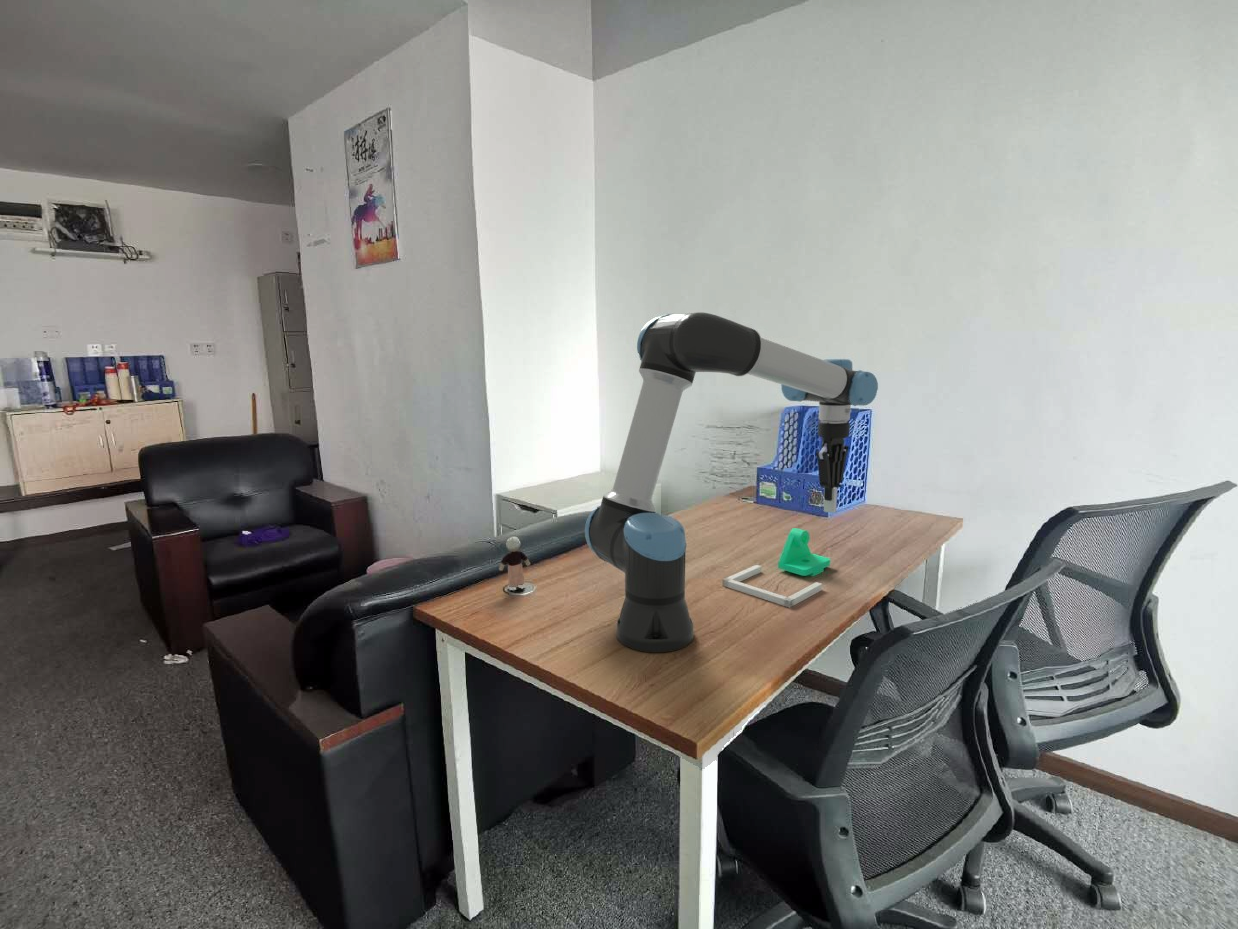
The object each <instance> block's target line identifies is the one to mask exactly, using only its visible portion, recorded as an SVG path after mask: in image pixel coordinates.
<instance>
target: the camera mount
mask: <svg viewBox="0 0 1238 929" xmlns="http://www.w3.org/2000/svg"><path fill="white" fill-rule="evenodd" d="M809 541H810V533H809V531H808V530H804V529H801V528H797V527H793V528H791V530H790V531H789V533H788V536H787V538H786V540H785V544H784V546H783V548H782V552H781V554H780V556H779V560H778V562H777V564H778V566H777V568H778V569H779V570H784V571H786V572H789V573H793V574H796V575H799V576H802V577H803V576H805V577H806V576H811V577H815V576H817V575H820V574H821V572H822V573H824V572H825V571H824V569H826V568H828V567H830V565H831V558H830V557H826V556H823V555H818V554H817V553H816V554H814V553H812V552H811V550H810V547H809Z"/></svg>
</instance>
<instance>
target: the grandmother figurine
mask: <svg viewBox="0 0 1238 929" xmlns="http://www.w3.org/2000/svg"><path fill="white" fill-rule="evenodd" d="M505 545H506V546H505V547H506V549H507V550H508V551H509V553H506V554H505V555H504V556H503V558H502V559H501V561H500V565H499V567H498V570H499V571H503V570H504V568H505V566H507V579H508V586H509V587H516V588H517V586H518V585H523V584H525V575H524V568H523V563H522V561H523V562H524V564H525V566H527V567H530V565H531V562H530V560H529V559H528V556H527V555H526V554H525V553H524V552H523V551H520V550H519V549H520V547H521V541H520V538H518V537H517V536H511V537H509V538H507V540H506V542H505Z"/></svg>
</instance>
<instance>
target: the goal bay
mask: <svg viewBox="0 0 1238 929" xmlns="http://www.w3.org/2000/svg"><path fill="white" fill-rule="evenodd" d="M761 572H762V566H761V565H759V564H755V565H752V566H750V567H748V568H746V569H744V570H740V571H739V572H737V573H735V574H732V575H730V576H727V577H725V578H723V579H721V580H722V587H723V586H724V587H725V588H729V589H732V590H734V591H738V592H741V593H744V594H747V595H750V596H753V597H756V598H759V599H762V600H765V601H769V602H772V603H774V604H777V605H780V606H783V607H786V608H789V609H790V608H792V607H794V606H795V605H797V604H799V603H801V602H802V601H805V600H806V599H808V598H810V597H811V596H813V595H815V594H817V593H819V592H820V591H822V590H823V583H821V582H817V581H815V582H813V583H812V584H810V585H808V586H806V587H804V588H802V589H800V590H799V591H797V592H795V593H793V594H791V595H789V596H785V595H781V594H779V593H775V592H772V591H769V590H766V589H764V588H760V587H756V586H754V585H750V584H746V583H743V582H742V581H744V580H746V579H749V578H751V577H753V576H755V575H758V574H760V573H761Z"/></svg>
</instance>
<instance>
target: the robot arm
mask: <svg viewBox="0 0 1238 929" xmlns="http://www.w3.org/2000/svg"><path fill="white" fill-rule="evenodd" d="M638 334H639V335H638V338H637V343H636V344H637V345H636V350H637V353H638V357H639V360H640V361H641V362H640V364H639V369H638V373H639V374H640V376H641V378H642V379H643V381H642V385H641V388H640V391H639V395H638V399H637V403H636V406H635V409H634V412H633V416H632V420H631V423H630V426H629V430H628V435H627V437H626V440H625V445H624V448H623V451H622V452H623V453H622V455H621V458H620V462H619V466H618V470H617V473H616V477H615V479H614V483H613V487H612V489H611V490H610V491H608V492H606V493H605V494H603V496H602V498H601V503H600V505H598V506H597V507H595V509H593V510H592V511H591V512H590V513H589V514H588V517H587V519H586V520H585V521H586V522H585V526H584V536H585V541H586V543H587V545H588V548H589V549H590V550H591V551H592V552H593V553H594V554H595V555H596V556H597V557H598V558H599V559H600V560H603V561H604V562H606V563H608V564H610V565H611V566H613V567H615V568H616V569H618V570H620V571H622V572H623V573H624V587H625V588H624V589H625V591H624V596H625V597H624V600H623V603H622V606H621V610H620V614H619V616H618V618H617V621H616V637H617V639H618V641H619V642H620V643H621V644H622V645H624V646H625V647H628V648H629V649H632V650H635V651H638V652H645V653H667V652H674V651H677V650H680V649H683V648H685V647H686V646H689V644H691V642H692V641H693V639H694V622H693V619H692V618H691V616H690V612H689V608H688V604H687V602H686V598H685V597H686V594H685V593H686V553H687V552H686V550H687V540H686V532H685V527H684V526H683V525H682V522H680V521H679V520H677V519H676V518H674V517H672V516H669V515H667V514H659V513H657V509H656V507H655V505H654V503H653V497H654V493H655V489H656V487H657V483H658V479H659V476H660V473H661V468H662V466H663V461H664V458H665V454H666V451H667V448H668V444H669V440H670V437H671V434H672V429H673V426H674V423H675V419H676V416H677V413H678V410H679V406H680V402H681V399H682V395H683V392H684V391H685V390H687V389H689V388H690V387H692V386H693V382H694V379H695V375H696V373H722V374H729V375H731V376H732V375H733V376H735V377H744V376H747V375H750V376H753V377H756V378H759V379H763V380H767V381H770V382H773V383H775V384H779V385H780V386H781V393H782V394H783V396H784V398H785V399H786V400H787V401H789V402H804V401H805V402H806V401H807V402H809V401H810V402H818V404H819V405H818V420H819V422H818V424H817V425H818V427H817V428H818V429H817V436H819V437H820V438H822V443H821V449H820V450H817V451H816V452H815V455H816V459H817V466H818V467H817V468H818V479H819V486H820V487H821V488H824V492H823V494H824V496H823V499H824V500H823V512H825V513H830V514H836V513H837V506H838V505H837V501H838V500H837V499H838V488H842V483H843V480H844V474H845V468H846V460H847V455H848V452H849V448H850V447H849V445H845V439H846V438H848V437H850V429H851V426H850V425H851V424H850V422H849V421H850V419H851V413H852V409H851V406H853V407H856V406H863V407H864V406H867V405H869V404H871V403H873V401H874V400H875V398H876V397H877V393H878V390H879V383H878V380H877V378H876V376H875V375H874V373H873V372H870V371H863V370H859V369H858V370H853V362H852V360H851V359H846V358H829V359H821V358H818V357H815V356H814V355H813V356H812V355H811V354H807V353H806V352H801V351H799V350H796V349H794V348H791V347H788V346H785V345H782V344H780V343H777V342H774V341H771V340H769V339H767V338H763V337H761V335H760V332H758V330H755V329H754V328H751V327H748V326H746V325H743V324H741V323H738V322H736V321H733V320H731V319H728V318H725V317H722V316H719V315H718V314H717V315H716V314H713V313H708V312H699V311H698V312H691V313H690V312H688V313H676V314H675V313H667V314H664V315H661V316H657V317H654V318H653V319H651V320H648V322H647V323H646V324H645V325H644V326H643V327H642V329H641V330H640V332H639V333H638Z"/></svg>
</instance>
